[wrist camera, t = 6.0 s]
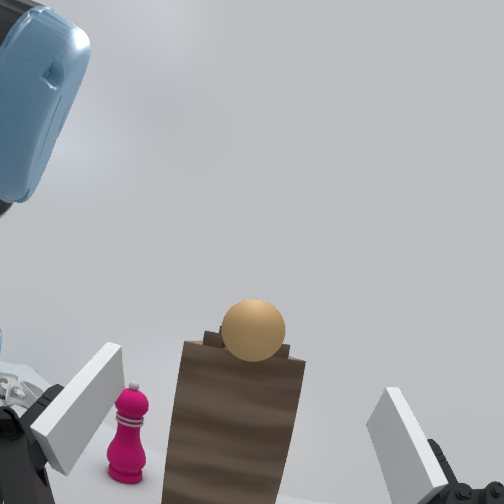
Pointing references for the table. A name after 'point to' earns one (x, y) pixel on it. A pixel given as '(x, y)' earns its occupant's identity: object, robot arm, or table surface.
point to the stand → (230, 425)
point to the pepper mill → (128, 436)
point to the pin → (253, 330)
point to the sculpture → (11, 396)
